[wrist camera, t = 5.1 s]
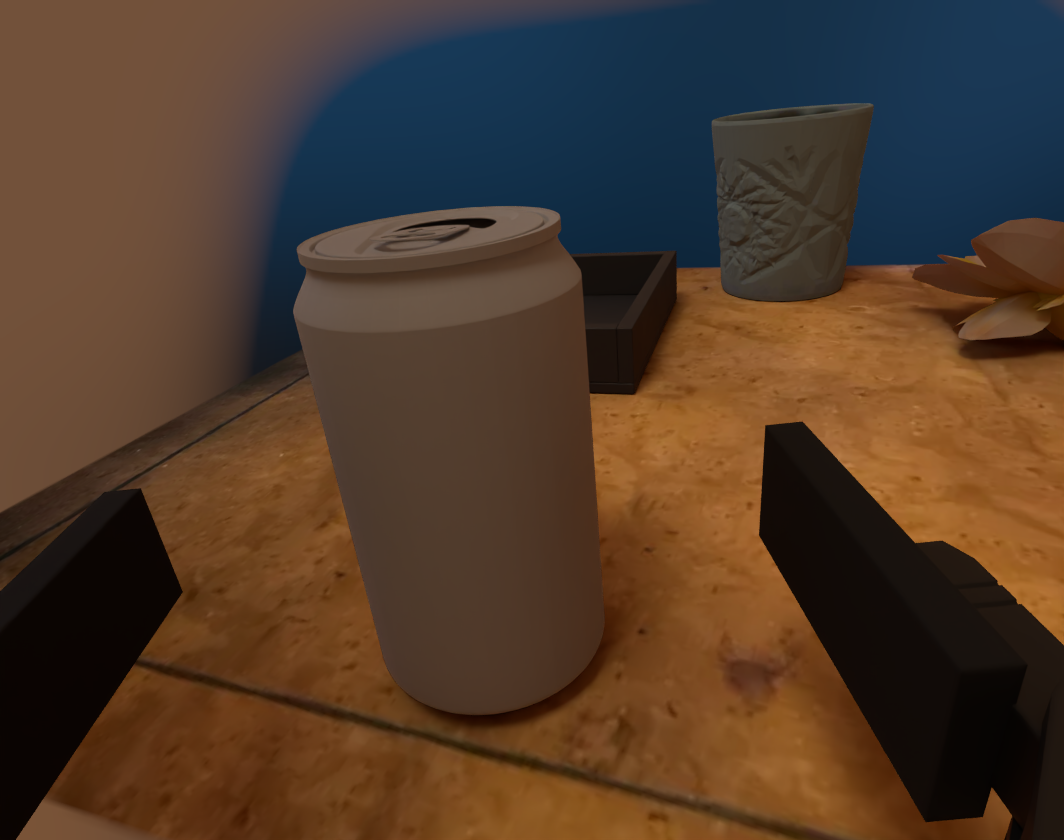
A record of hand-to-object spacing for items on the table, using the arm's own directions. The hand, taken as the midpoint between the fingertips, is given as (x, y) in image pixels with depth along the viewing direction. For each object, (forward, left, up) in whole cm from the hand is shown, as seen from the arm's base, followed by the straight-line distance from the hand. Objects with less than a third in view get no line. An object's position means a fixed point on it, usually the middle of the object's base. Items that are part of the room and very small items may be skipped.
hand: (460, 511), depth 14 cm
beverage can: (-1, +3, -7) cm, 7 cm away
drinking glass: (+7, +42, -7) cm, 43 cm away
